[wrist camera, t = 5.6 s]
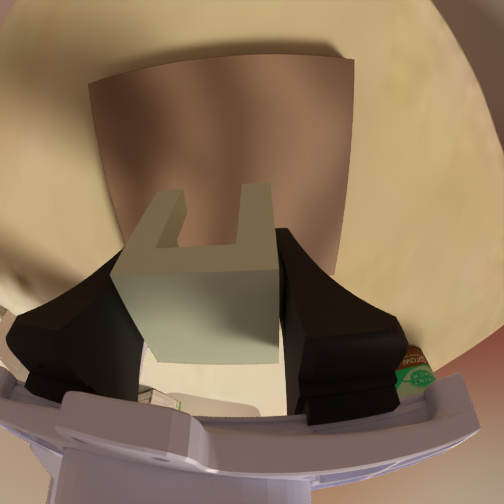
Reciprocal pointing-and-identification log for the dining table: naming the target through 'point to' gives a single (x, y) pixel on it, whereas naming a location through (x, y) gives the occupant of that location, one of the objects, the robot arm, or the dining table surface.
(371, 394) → the robot arm
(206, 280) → the pale slotted block
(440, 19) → the dining table surface
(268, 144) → the serving board
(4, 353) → the architectural model
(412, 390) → the food container
